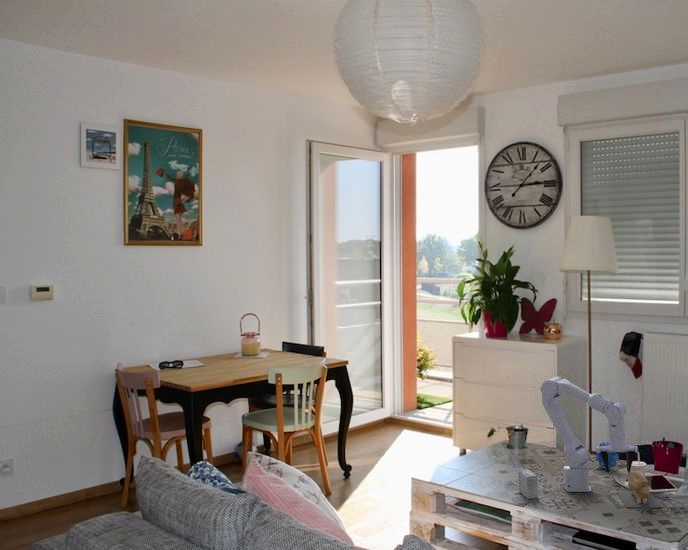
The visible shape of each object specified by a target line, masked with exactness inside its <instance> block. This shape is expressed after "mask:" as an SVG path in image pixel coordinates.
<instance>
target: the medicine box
mask: <svg viewBox="0 0 688 550" xmlns="http://www.w3.org/2000/svg"><path fill="white" fill-rule="evenodd" d="M518 487H519V488H518V489H519V494H522V496H524V497H525V498H526V499H528V500H530V499H531V498H532V499H538V498H539V490H538V489H539V488H538V487H539V486H538V475H536V474H535V473H533V472H532V471H531V470H529V469H526V470H524V469H523V470H519V471H518Z"/></svg>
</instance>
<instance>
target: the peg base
mask: <svg viewBox="0 0 688 550" xmlns="http://www.w3.org/2000/svg"><path fill="white" fill-rule="evenodd" d="M616 493H617V495H618V497H619V498H620V500H621V501H622V503H623V504H624V506H625V507H626V509H663V506H662V504H660V502H659V501H658V499H657V498H656V497H655V495H653V493H652V492H651V493H649V498H636V497H635V495H634V494H633V493H632V491H631V490H630V491H616Z"/></svg>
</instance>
